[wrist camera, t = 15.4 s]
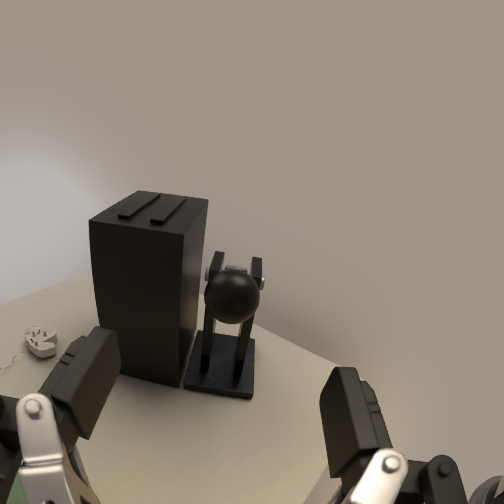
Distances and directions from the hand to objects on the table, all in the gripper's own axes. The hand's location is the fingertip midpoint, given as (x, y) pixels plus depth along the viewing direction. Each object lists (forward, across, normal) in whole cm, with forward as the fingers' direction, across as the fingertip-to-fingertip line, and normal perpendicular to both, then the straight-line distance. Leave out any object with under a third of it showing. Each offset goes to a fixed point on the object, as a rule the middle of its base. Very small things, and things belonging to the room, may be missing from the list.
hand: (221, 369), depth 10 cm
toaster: (+20, +9, +20) cm, 30 cm away
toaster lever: (+13, 0, +6) cm, 14 cm away
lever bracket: (+19, 0, +20) cm, 27 cm away
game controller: (+11, +26, +20) cm, 34 cm away
